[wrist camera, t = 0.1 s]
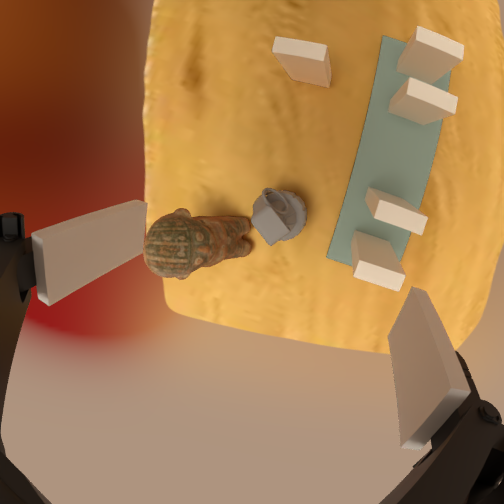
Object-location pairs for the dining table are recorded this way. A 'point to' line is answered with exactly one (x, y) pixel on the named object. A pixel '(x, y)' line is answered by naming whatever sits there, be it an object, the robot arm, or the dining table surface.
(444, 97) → the domino
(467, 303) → the dining table surface
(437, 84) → the strip
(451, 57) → the domino
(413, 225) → the domino
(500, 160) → the dining table surface
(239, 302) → the dining table surface
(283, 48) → the domino
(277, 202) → the hand grenade
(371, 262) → the domino
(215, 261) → the figurine
